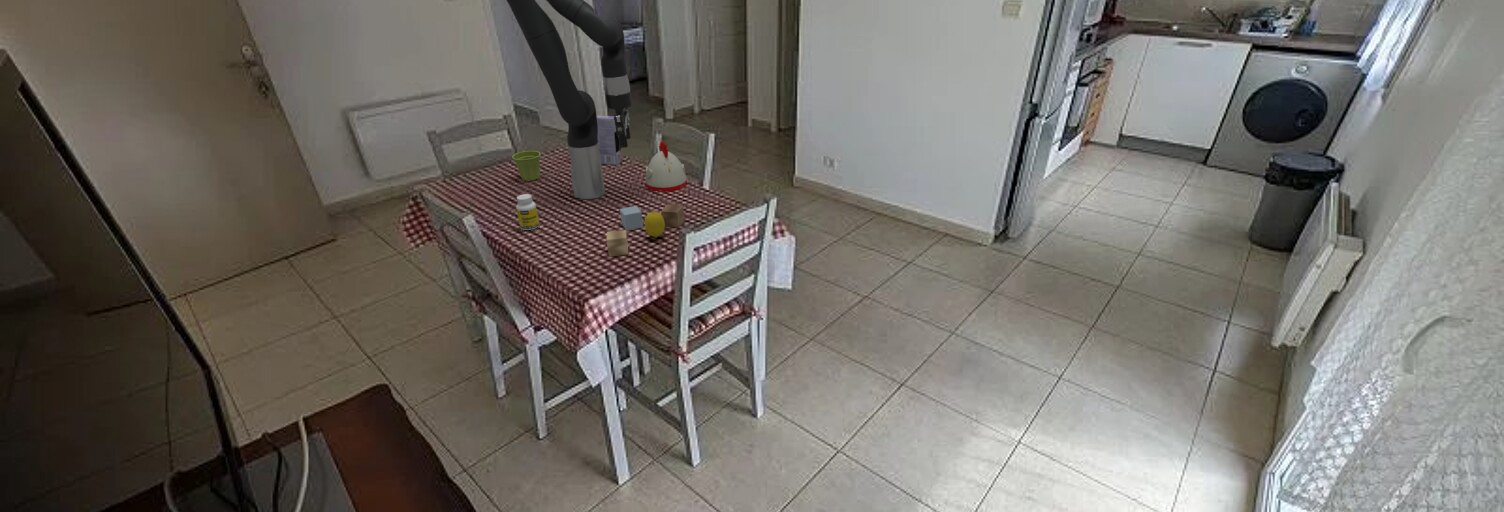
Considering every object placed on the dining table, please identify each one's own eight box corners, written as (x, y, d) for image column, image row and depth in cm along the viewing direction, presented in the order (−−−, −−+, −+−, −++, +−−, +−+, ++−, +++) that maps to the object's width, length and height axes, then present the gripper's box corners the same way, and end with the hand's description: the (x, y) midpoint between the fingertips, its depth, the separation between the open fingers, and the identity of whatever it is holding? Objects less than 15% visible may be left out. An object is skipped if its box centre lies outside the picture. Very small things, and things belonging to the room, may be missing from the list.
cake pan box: (625, 161, 226) (619, 115, 218) (620, 165, 222) (614, 118, 213) (578, 158, 229) (570, 113, 221) (572, 163, 225) (564, 116, 217)
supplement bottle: (522, 233, 172) (515, 201, 167) (519, 225, 176) (512, 195, 171) (541, 229, 174) (535, 197, 169) (538, 222, 178) (532, 191, 173)
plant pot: (540, 183, 207) (535, 159, 203) (513, 183, 207) (507, 159, 203) (548, 173, 215) (544, 150, 211) (522, 174, 215) (517, 150, 211)
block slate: (626, 231, 172) (624, 215, 170) (621, 224, 176) (619, 209, 174) (643, 227, 174) (641, 211, 171) (638, 221, 178) (636, 205, 175)
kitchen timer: (652, 194, 196) (647, 150, 189) (641, 181, 207) (637, 139, 200) (692, 188, 201) (689, 144, 194) (679, 175, 212) (676, 133, 205)
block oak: (608, 256, 158) (606, 239, 156) (609, 248, 162) (607, 231, 160) (628, 254, 159) (625, 238, 157) (628, 246, 163) (625, 229, 161)
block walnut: (662, 226, 174) (661, 211, 172) (668, 219, 178) (667, 204, 176) (678, 228, 173) (677, 212, 171) (684, 221, 177) (683, 205, 175)
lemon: (667, 233, 170) (665, 207, 166) (663, 242, 165) (660, 215, 161) (648, 232, 170) (646, 207, 167) (643, 241, 166) (640, 215, 162)
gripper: (608, 86, 185) (616, 137, 193) (601, 97, 173) (610, 151, 180) (632, 84, 186) (639, 135, 193) (627, 95, 173) (635, 149, 181)
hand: (625, 143), depth 187 cm, fingers open, 8 cm apart
